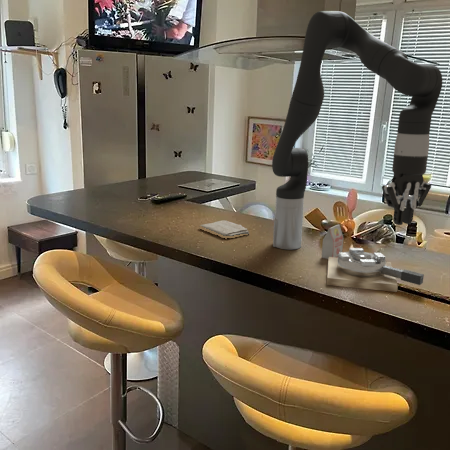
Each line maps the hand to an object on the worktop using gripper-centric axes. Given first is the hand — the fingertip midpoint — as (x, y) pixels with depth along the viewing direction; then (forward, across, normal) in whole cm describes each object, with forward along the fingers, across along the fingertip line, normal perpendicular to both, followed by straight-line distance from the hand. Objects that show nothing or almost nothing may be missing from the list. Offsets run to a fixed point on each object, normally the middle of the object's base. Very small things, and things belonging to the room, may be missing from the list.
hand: (402, 223), depth 113 cm
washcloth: (+20, -20, +69) cm, 75 cm away
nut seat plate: (+19, 0, +14) cm, 24 cm away
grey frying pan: (+17, +2, +9) cm, 19 cm away
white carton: (+19, +3, +32) cm, 37 cm away
